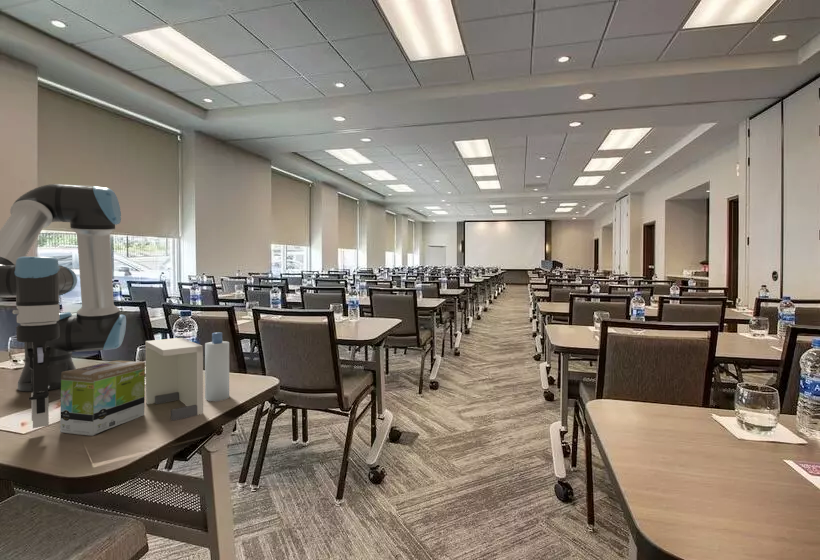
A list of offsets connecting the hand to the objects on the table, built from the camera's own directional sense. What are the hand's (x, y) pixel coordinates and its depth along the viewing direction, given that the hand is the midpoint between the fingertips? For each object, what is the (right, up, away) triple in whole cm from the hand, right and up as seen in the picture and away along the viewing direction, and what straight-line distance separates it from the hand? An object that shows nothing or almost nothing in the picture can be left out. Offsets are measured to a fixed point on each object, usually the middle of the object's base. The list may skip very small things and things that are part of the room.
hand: (40, 422), depth 99 cm
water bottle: (+28, -3, +29) cm, 41 cm away
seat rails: (+20, -3, +19) cm, 28 cm away
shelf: (+20, -3, +19) cm, 28 cm away
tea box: (+9, -3, +9) cm, 13 cm away
